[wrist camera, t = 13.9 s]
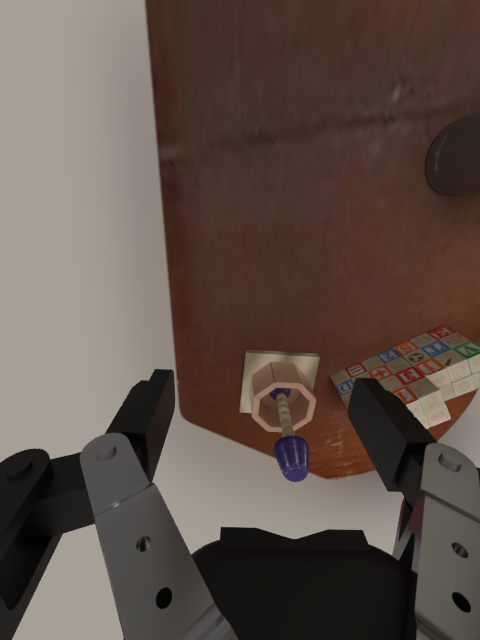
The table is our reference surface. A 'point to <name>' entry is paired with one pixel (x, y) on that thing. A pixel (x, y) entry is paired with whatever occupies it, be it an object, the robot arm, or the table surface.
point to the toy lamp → (289, 441)
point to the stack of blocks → (421, 373)
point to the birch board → (261, 357)
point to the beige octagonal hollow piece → (267, 408)
